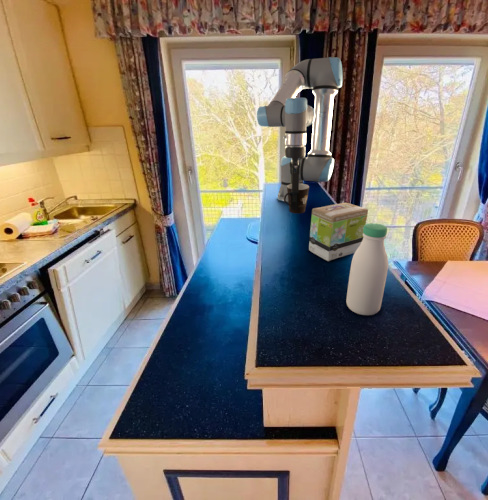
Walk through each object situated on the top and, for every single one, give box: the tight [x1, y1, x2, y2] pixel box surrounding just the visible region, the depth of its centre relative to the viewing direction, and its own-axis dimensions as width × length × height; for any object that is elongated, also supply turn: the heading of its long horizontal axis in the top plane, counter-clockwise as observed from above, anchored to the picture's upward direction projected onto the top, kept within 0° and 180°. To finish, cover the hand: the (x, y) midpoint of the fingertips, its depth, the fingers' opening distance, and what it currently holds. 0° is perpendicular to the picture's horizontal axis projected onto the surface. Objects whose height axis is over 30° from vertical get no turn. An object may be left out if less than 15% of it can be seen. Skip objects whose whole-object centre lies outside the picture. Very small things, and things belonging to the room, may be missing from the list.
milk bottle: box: [345, 222, 389, 316], centre depth 61 cm, size 8×8×20 cm
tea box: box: [308, 201, 369, 262], centre depth 90 cm, size 15×10×15 cm, turn 122°
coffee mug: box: [283, 183, 310, 215], centre depth 110 cm, size 12×9×10 cm
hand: (293, 206), depth 112 cm, fingers closed on coffee mug, 7 cm apart
